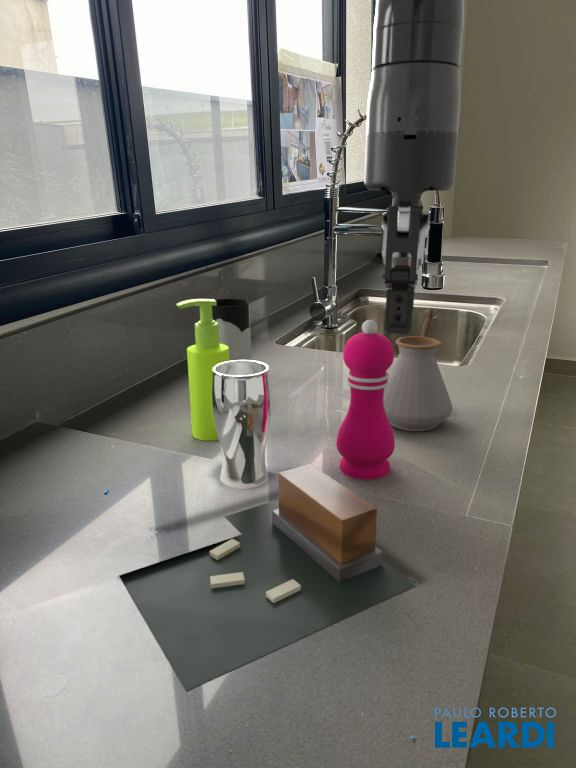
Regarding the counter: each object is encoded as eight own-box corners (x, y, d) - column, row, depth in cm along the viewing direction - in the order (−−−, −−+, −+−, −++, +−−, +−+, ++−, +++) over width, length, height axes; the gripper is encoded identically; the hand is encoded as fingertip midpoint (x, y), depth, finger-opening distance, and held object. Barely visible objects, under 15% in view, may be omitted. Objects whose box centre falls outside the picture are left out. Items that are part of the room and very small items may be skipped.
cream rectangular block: (217, 560, 58) (217, 556, 58) (209, 555, 58) (209, 551, 58) (240, 547, 60) (240, 542, 60) (232, 542, 61) (232, 538, 60)
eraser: (339, 583, 54) (341, 524, 52) (272, 523, 64) (271, 472, 62) (382, 565, 57) (385, 508, 55) (311, 510, 66) (311, 460, 65)
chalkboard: (186, 702, 43) (186, 691, 43) (106, 561, 59) (105, 553, 59) (415, 595, 54) (416, 586, 54) (295, 501, 70) (295, 493, 70)
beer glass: (207, 494, 72) (201, 374, 67) (227, 468, 78) (222, 357, 74) (263, 501, 70) (261, 378, 66) (278, 474, 77) (277, 361, 72)
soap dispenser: (182, 428, 91) (173, 297, 85) (227, 423, 93) (222, 294, 87) (188, 444, 86) (179, 305, 80) (235, 438, 88) (230, 301, 82)
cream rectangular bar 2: (211, 588, 54) (211, 584, 54) (210, 580, 55) (210, 576, 55) (244, 584, 54) (244, 579, 54) (243, 576, 55) (242, 571, 55)
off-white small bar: (273, 603, 52) (273, 598, 52) (265, 596, 53) (265, 591, 52) (301, 590, 53) (301, 585, 53) (293, 583, 54) (293, 578, 54)
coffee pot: (446, 440, 86) (455, 338, 82) (368, 430, 90) (371, 332, 85) (459, 394, 105) (467, 309, 101) (394, 387, 109) (398, 305, 104)
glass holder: (199, 386, 110) (194, 305, 106) (230, 365, 123) (227, 292, 118) (243, 391, 108) (241, 308, 103) (270, 369, 120) (269, 294, 116)
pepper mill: (396, 465, 79) (404, 315, 73) (389, 491, 72) (397, 328, 66) (341, 459, 81) (344, 312, 75) (330, 484, 74) (332, 325, 68)
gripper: (373, 137, 58) (365, 305, 63) (357, 123, 44) (349, 338, 49) (454, 136, 56) (440, 308, 61) (463, 121, 43) (443, 343, 48)
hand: (399, 321), depth 55 cm, fingers open, 8 cm apart
